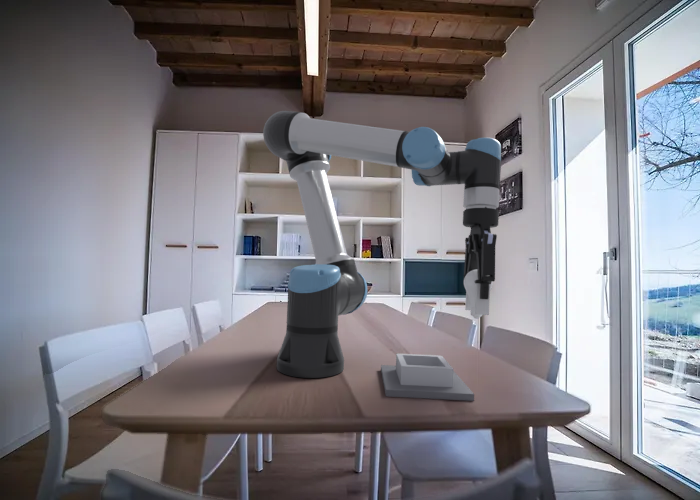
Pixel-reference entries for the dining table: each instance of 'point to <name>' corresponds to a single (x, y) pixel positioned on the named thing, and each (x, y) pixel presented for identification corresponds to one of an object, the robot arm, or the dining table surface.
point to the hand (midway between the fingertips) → (476, 312)
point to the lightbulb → (472, 290)
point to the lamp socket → (423, 378)
